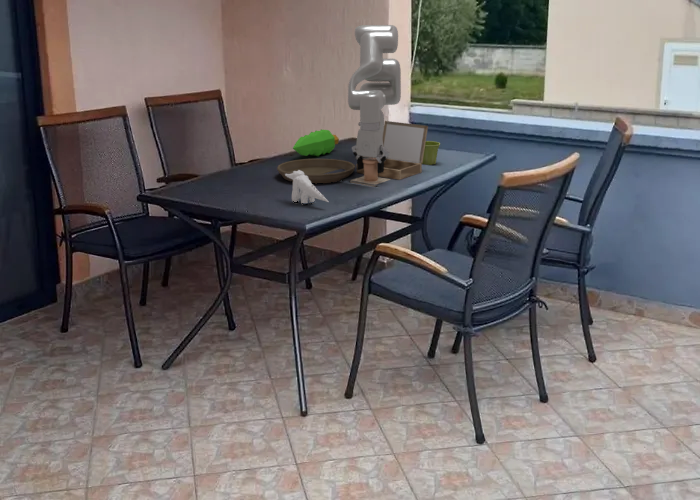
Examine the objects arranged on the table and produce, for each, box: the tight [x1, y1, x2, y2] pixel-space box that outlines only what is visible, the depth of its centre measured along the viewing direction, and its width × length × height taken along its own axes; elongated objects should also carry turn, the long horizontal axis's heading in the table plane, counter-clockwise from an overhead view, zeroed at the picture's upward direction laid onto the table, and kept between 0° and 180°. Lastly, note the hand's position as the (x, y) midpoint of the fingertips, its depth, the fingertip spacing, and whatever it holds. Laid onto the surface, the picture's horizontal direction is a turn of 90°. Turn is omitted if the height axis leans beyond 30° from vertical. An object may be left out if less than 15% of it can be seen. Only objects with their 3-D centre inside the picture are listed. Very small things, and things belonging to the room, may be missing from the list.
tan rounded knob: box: [363, 157, 379, 181], centre depth 336 cm, size 6×6×8 cm
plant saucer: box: [276, 158, 356, 185], centre depth 348 cm, size 31×31×5 cm
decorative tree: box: [292, 129, 340, 157], centre depth 383 cm, size 11×12×30 cm
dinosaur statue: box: [285, 170, 330, 204], centre depth 307 cm, size 7×24×11 cm, turn 43°
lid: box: [383, 120, 429, 164], centre depth 352 cm, size 21×15×1 cm
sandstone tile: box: [350, 175, 392, 188], centre depth 337 cm, size 12×10×1 cm
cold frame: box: [355, 158, 423, 181], centre depth 348 cm, size 21×15×4 cm
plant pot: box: [420, 140, 441, 166], centre depth 366 cm, size 9×9×9 cm
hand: (370, 170), depth 336 cm, fingers open, 9 cm apart
